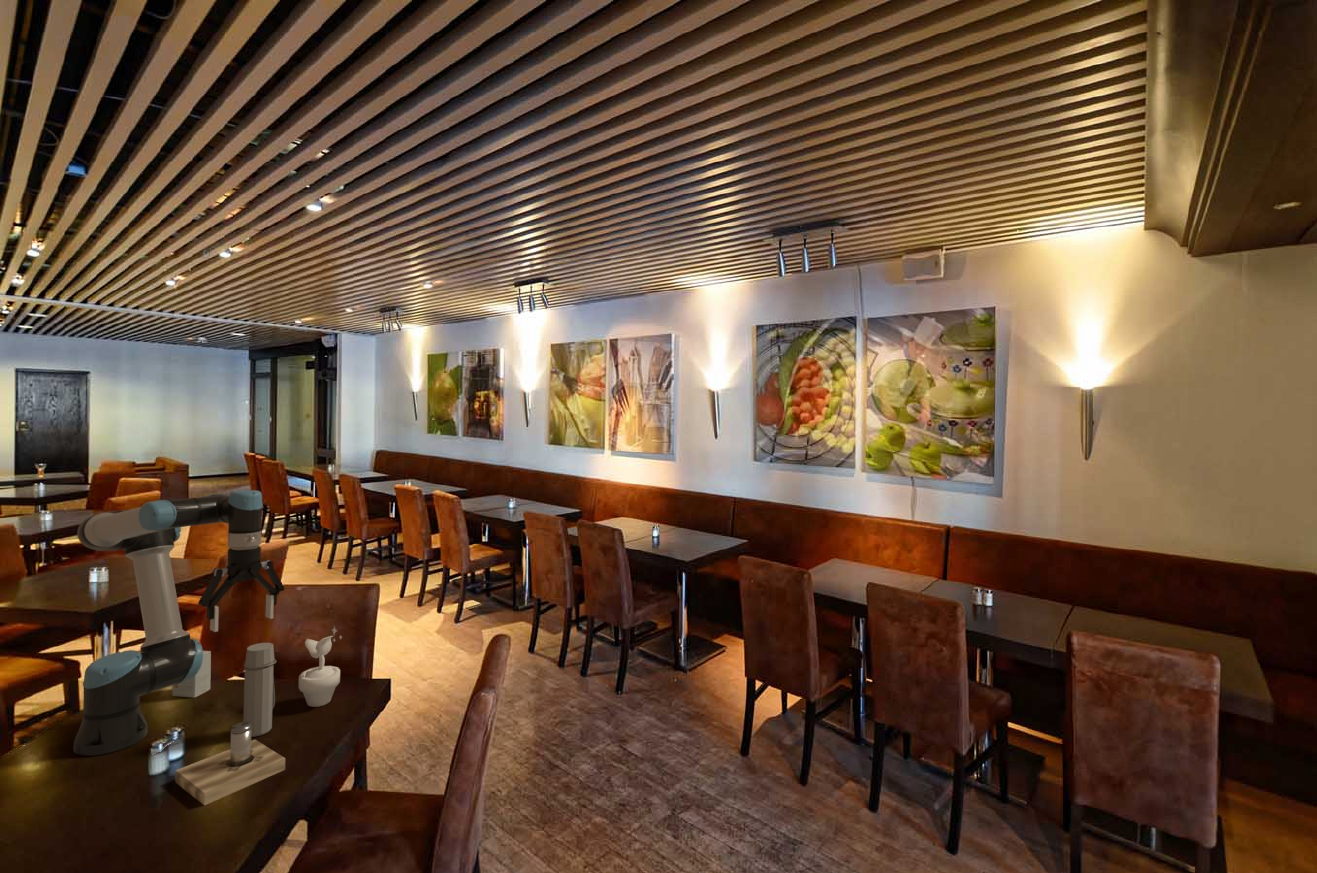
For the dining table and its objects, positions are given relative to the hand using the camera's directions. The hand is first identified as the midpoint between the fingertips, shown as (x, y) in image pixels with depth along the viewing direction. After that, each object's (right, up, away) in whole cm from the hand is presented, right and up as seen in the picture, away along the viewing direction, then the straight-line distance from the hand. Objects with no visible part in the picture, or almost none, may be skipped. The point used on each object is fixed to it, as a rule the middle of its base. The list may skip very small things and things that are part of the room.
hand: (242, 624), depth 164 cm
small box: (-39, -33, +32) cm, 61 cm away
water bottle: (-2, -35, +11) cm, 36 cm away
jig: (+5, -35, -12) cm, 37 cm away
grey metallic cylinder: (+6, -35, -10) cm, 37 cm away
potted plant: (+4, -35, +29) cm, 45 cm away
